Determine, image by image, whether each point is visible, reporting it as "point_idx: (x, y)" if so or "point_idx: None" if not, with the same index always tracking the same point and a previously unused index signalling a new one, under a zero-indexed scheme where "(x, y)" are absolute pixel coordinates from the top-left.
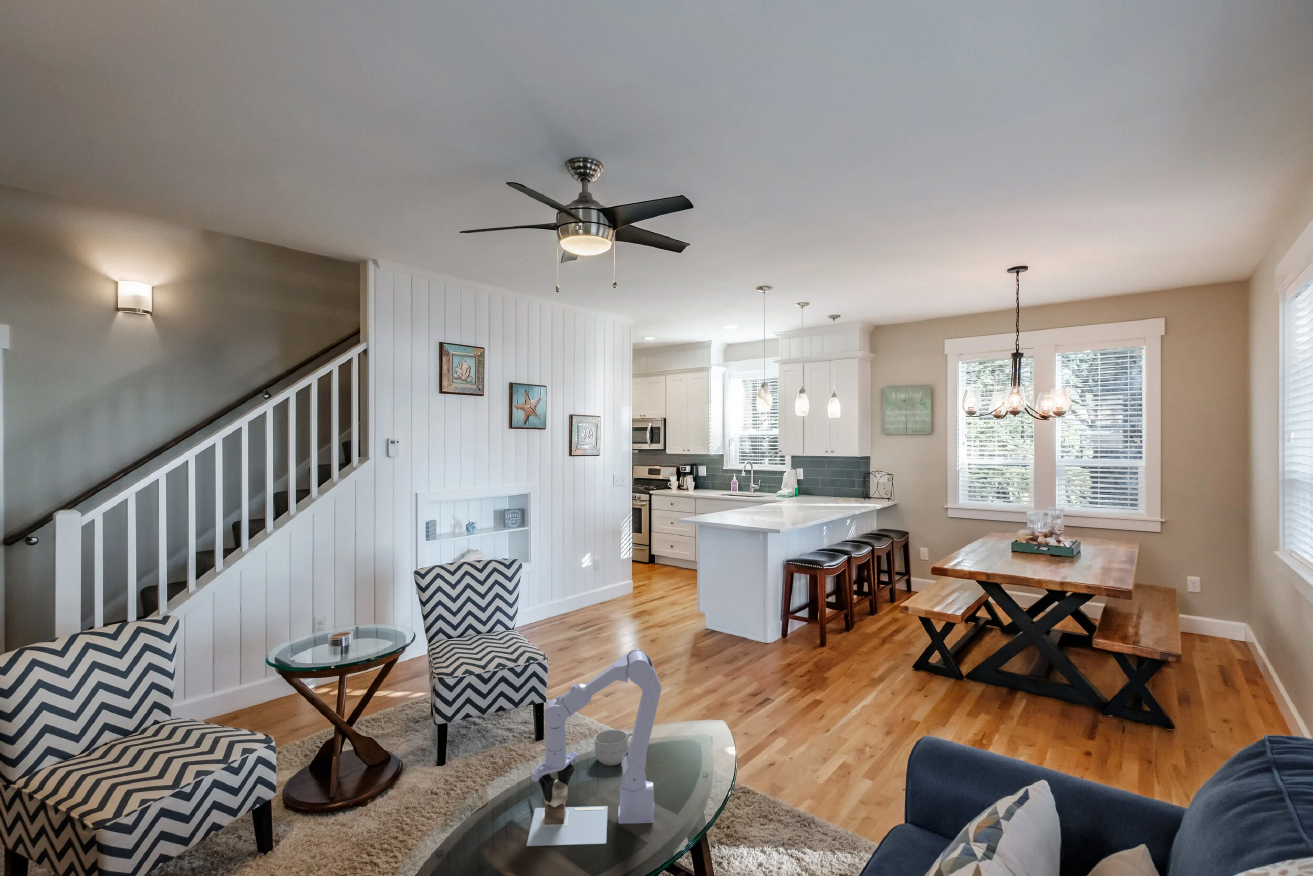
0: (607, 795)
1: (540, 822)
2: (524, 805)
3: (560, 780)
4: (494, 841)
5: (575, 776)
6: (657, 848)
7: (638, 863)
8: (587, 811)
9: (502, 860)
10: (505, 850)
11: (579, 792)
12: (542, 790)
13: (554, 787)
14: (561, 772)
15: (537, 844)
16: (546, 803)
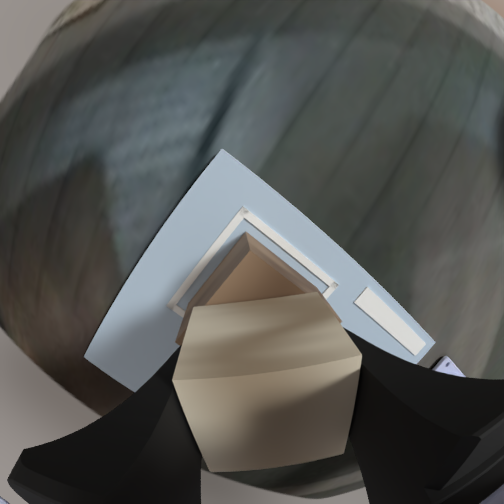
0: (475, 274)
1: (179, 277)
2: (204, 79)
3: (362, 398)
4: (17, 244)
5: (471, 91)
6: (358, 480)
7: (301, 494)
8: (381, 334)
9: (26, 340)
10: (34, 311)
11: (444, 183)
12: (145, 384)
13: (247, 441)
14: (394, 469)
15: (117, 377)
16: (214, 299)
